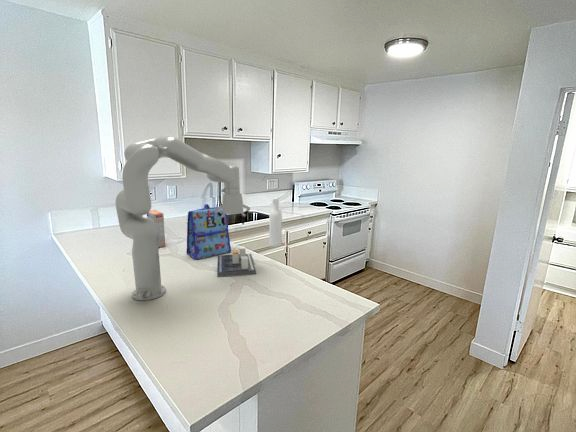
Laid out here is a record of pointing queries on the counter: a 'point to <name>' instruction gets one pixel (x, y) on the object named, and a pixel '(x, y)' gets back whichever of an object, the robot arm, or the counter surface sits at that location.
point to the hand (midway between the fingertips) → (233, 224)
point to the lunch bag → (207, 233)
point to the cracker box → (159, 220)
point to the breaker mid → (235, 256)
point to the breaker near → (244, 262)
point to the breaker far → (242, 251)
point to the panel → (234, 266)
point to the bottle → (275, 225)
